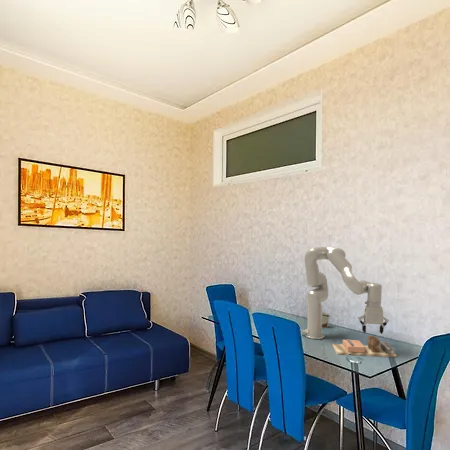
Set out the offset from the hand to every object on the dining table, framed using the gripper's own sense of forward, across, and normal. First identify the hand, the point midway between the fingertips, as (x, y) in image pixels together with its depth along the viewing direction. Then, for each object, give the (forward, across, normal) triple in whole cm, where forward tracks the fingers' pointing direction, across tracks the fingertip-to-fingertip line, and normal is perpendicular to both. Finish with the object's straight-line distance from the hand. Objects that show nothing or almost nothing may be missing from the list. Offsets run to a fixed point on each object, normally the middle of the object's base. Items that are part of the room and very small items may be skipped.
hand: (372, 332), depth 204 cm
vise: (+11, -5, -1) cm, 13 cm away
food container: (+13, -22, +47) cm, 54 cm away
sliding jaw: (+10, -11, -1) cm, 15 cm away
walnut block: (+10, +1, -1) cm, 10 cm away
